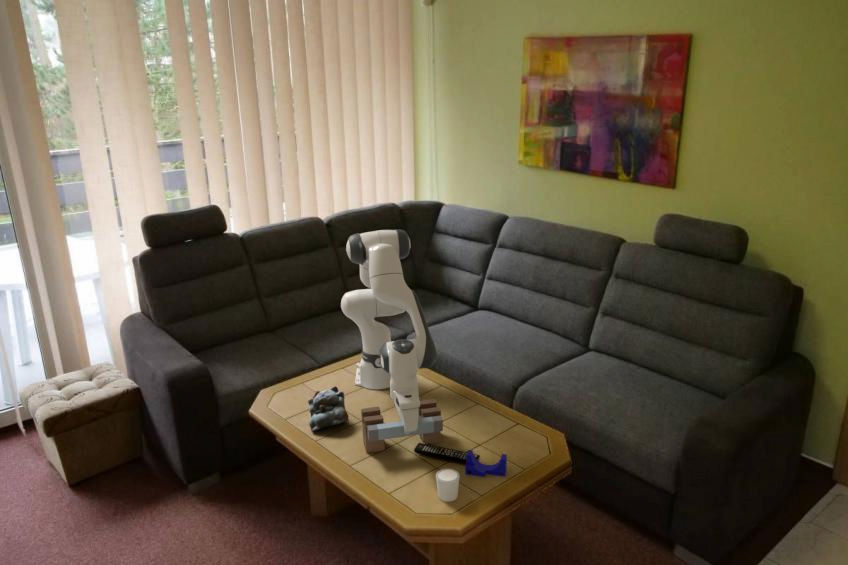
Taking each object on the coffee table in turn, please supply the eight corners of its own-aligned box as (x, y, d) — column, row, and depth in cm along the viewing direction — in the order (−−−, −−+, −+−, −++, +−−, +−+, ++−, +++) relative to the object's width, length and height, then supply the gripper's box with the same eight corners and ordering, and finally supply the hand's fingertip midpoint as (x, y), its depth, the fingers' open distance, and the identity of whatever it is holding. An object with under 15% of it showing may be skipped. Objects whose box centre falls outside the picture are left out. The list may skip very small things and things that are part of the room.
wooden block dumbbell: (362, 440, 218) (361, 408, 214) (435, 430, 223) (434, 398, 220) (366, 453, 210) (364, 421, 207) (441, 442, 216) (440, 410, 212)
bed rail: (367, 436, 208) (367, 425, 206) (440, 426, 213) (440, 415, 212) (369, 441, 205) (368, 430, 204) (442, 430, 210) (442, 420, 209)
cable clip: (465, 474, 199) (465, 457, 197) (468, 466, 203) (468, 449, 201) (504, 480, 196) (504, 462, 194) (506, 471, 200) (506, 454, 198)
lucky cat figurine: (302, 433, 223) (296, 392, 226) (319, 429, 235) (313, 390, 237) (341, 426, 219) (334, 385, 221) (356, 422, 230) (350, 383, 232)
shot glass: (431, 493, 190) (431, 473, 188) (451, 485, 193) (450, 465, 191) (444, 506, 184) (444, 485, 182) (464, 497, 188) (464, 477, 186)
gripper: (388, 377, 213) (389, 414, 217) (400, 407, 194) (402, 447, 198) (407, 374, 214) (408, 411, 219) (421, 404, 195) (422, 444, 200)
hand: (405, 429), depth 208 cm, fingers closed on bed rail, 3 cm apart
